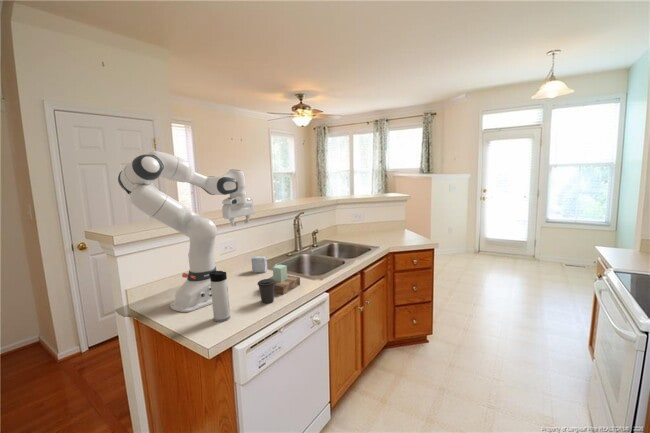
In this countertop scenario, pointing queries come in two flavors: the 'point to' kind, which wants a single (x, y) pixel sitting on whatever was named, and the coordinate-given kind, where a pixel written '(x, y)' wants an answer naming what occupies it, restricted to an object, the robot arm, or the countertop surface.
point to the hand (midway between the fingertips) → (240, 224)
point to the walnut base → (286, 284)
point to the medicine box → (259, 264)
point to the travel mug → (220, 296)
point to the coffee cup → (266, 290)
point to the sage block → (280, 273)
